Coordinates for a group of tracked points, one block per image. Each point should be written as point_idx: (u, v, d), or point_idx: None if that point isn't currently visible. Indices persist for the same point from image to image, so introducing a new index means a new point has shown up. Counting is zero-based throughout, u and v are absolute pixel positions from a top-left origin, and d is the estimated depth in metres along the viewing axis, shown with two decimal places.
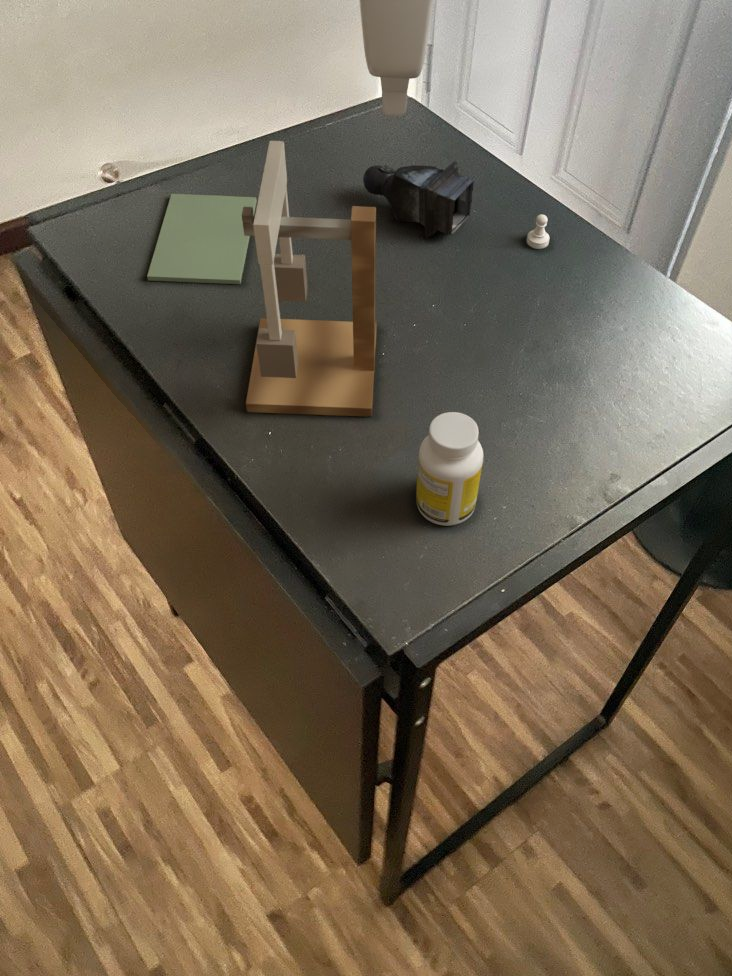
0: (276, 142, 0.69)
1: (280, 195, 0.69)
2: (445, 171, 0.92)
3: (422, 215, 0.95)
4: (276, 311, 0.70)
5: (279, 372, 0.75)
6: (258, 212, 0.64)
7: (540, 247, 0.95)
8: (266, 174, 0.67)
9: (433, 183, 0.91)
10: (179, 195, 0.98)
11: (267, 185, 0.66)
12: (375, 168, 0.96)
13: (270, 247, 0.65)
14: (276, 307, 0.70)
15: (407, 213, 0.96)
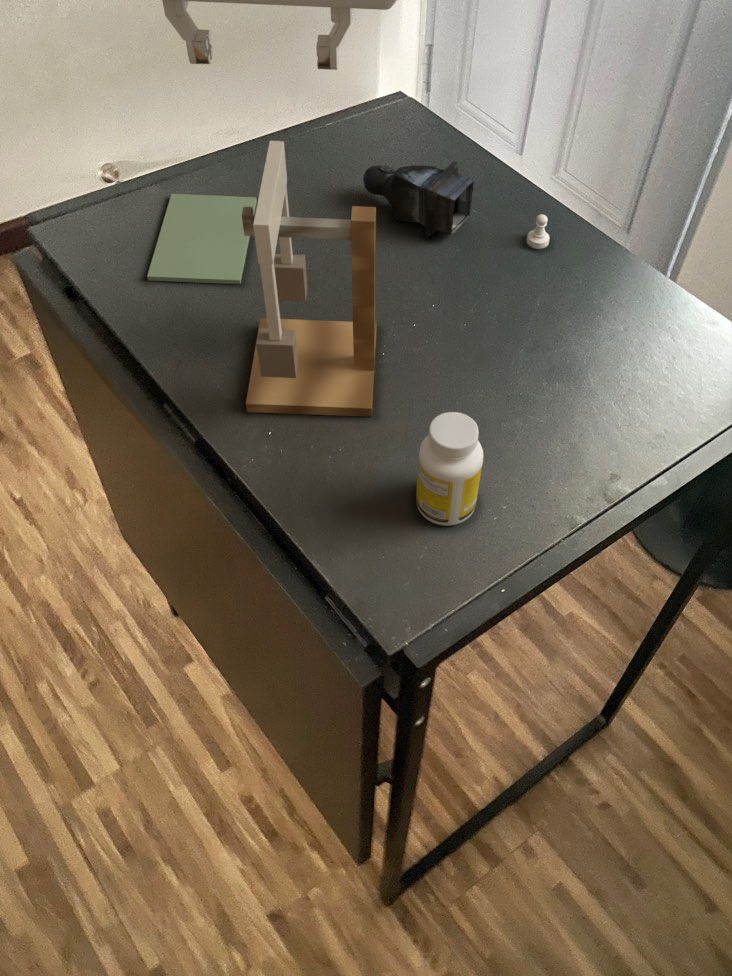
0: (276, 142, 0.69)
1: (280, 195, 0.69)
2: (445, 171, 0.92)
3: (422, 215, 0.95)
4: (276, 311, 0.70)
5: (279, 372, 0.75)
6: (258, 212, 0.64)
7: (540, 247, 0.95)
8: (266, 174, 0.67)
9: (433, 183, 0.91)
10: (179, 195, 0.98)
11: (267, 185, 0.66)
12: (375, 168, 0.96)
13: (270, 247, 0.65)
14: (276, 307, 0.70)
15: (407, 213, 0.96)
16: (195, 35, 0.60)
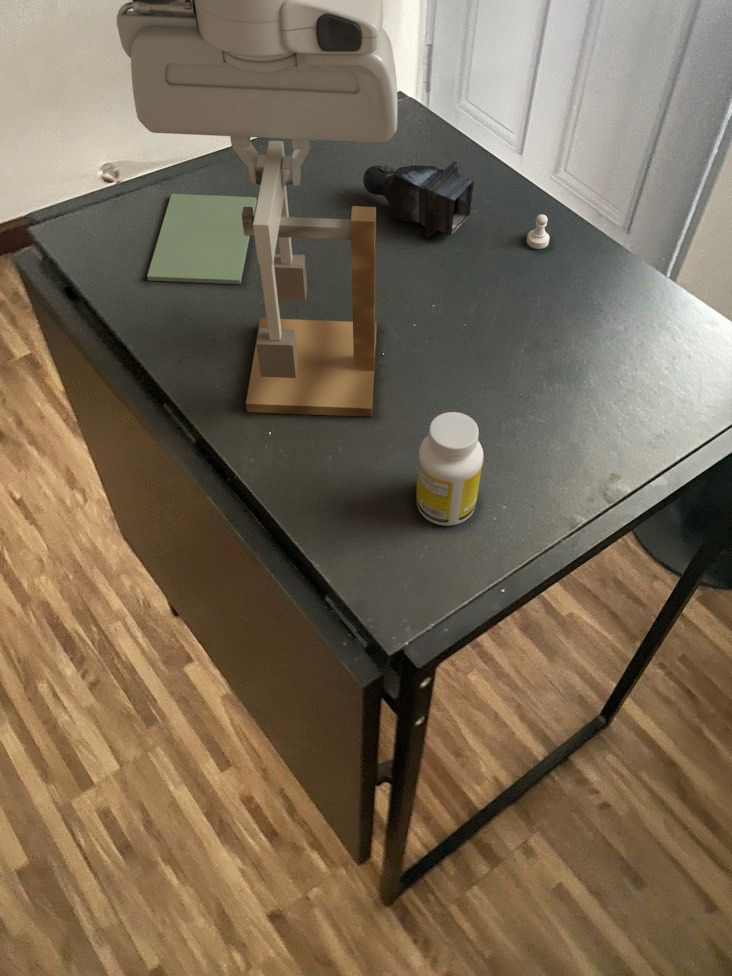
0: (276, 142, 0.69)
1: (280, 195, 0.69)
2: (445, 171, 0.92)
3: (422, 215, 0.95)
4: (276, 311, 0.70)
5: (279, 372, 0.75)
6: (258, 212, 0.64)
7: (540, 247, 0.95)
8: (266, 174, 0.67)
9: (433, 183, 0.91)
10: (179, 195, 0.98)
11: (266, 185, 0.66)
12: (375, 168, 0.96)
13: (270, 247, 0.65)
14: (276, 307, 0.70)
15: (407, 213, 0.96)
16: (256, 161, 0.69)
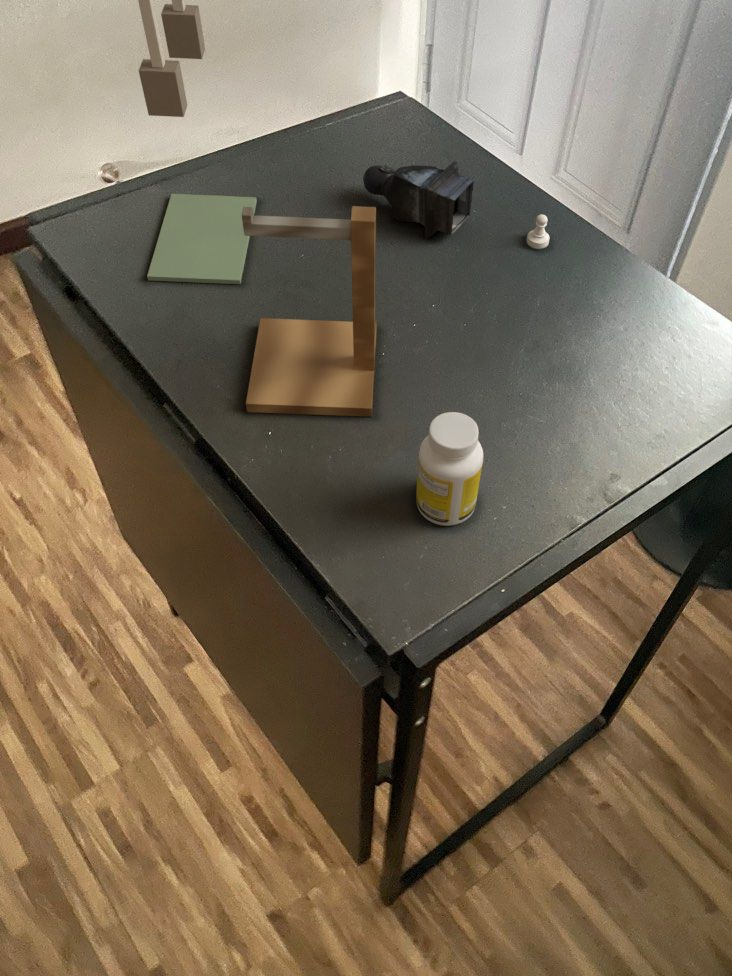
0: None
1: None
2: (445, 171, 0.92)
3: (422, 215, 0.95)
4: (154, 28, 0.70)
5: (166, 109, 0.75)
6: None
7: (540, 247, 0.95)
8: None
9: (433, 183, 0.91)
10: (179, 195, 0.98)
11: None
12: (375, 168, 0.96)
13: None
14: (154, 23, 0.69)
15: (407, 213, 0.96)
16: None
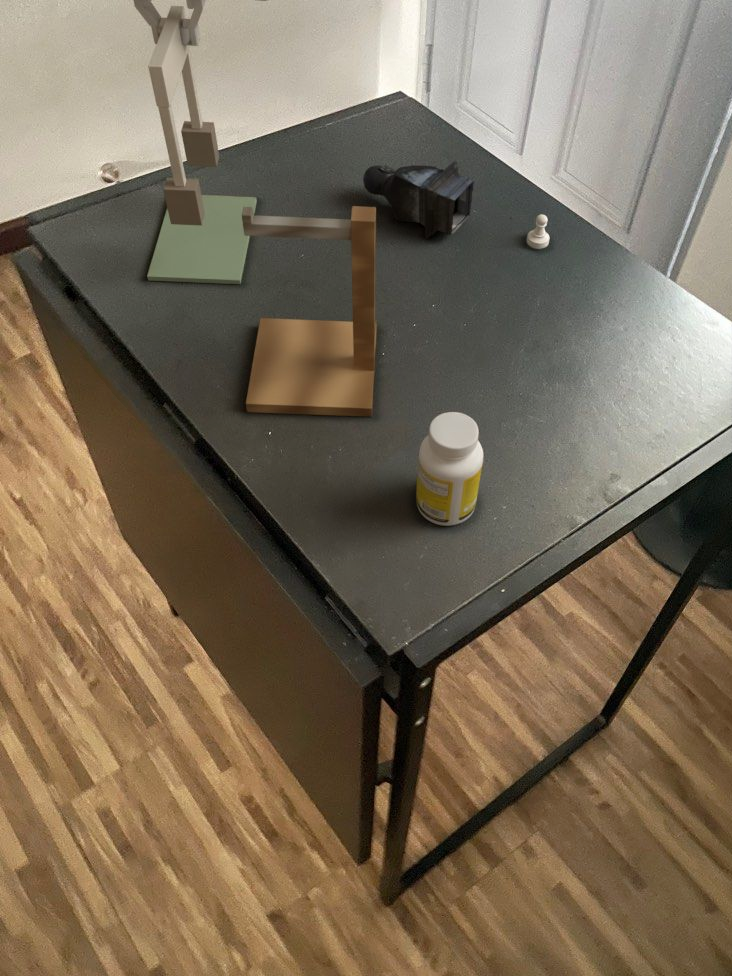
0: (177, 6, 0.79)
1: (179, 52, 0.79)
2: (445, 171, 0.92)
3: (422, 215, 0.95)
4: (177, 156, 0.80)
5: (186, 219, 0.85)
6: (154, 57, 0.74)
7: (540, 247, 0.95)
8: (164, 30, 0.77)
9: (433, 183, 0.91)
10: None
11: (164, 38, 0.76)
12: (375, 168, 0.96)
13: (165, 89, 0.75)
14: (177, 152, 0.80)
15: (407, 213, 0.96)
16: (159, 22, 0.78)
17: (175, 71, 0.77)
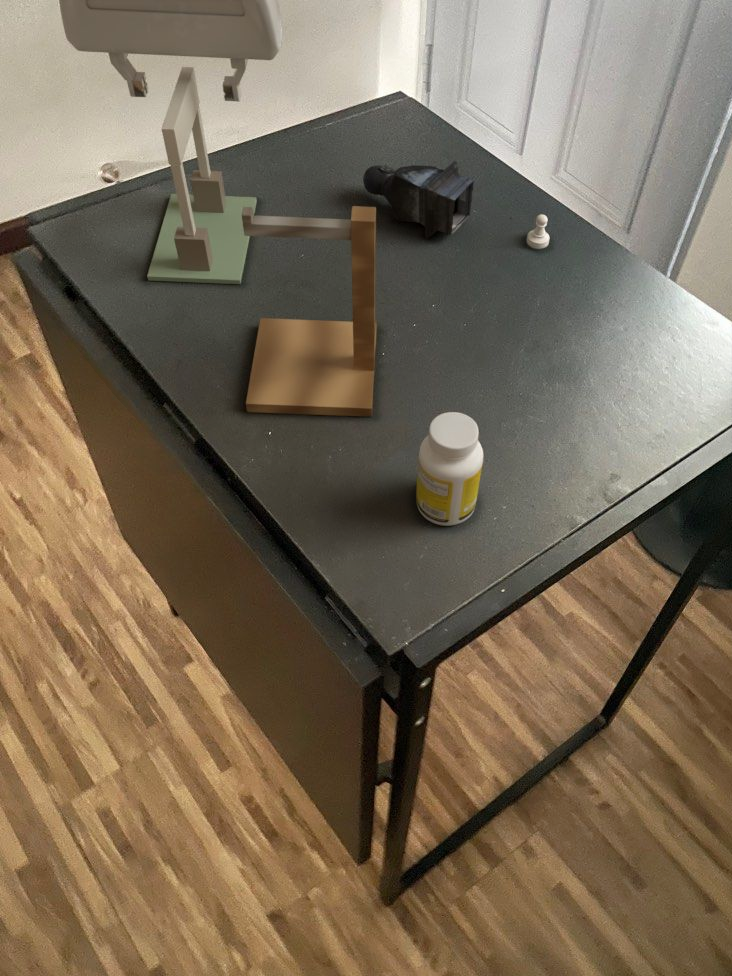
0: (187, 68, 0.84)
1: (190, 111, 0.83)
2: (445, 171, 0.92)
3: (422, 215, 0.95)
4: (188, 208, 0.85)
5: (195, 265, 0.90)
6: (166, 120, 0.79)
7: (540, 247, 0.95)
8: (176, 92, 0.81)
9: (433, 183, 0.91)
10: None
11: (176, 100, 0.81)
12: (375, 168, 0.96)
13: (177, 149, 0.79)
14: (187, 205, 0.84)
15: (407, 213, 0.96)
16: (134, 76, 0.83)
17: (186, 130, 0.82)
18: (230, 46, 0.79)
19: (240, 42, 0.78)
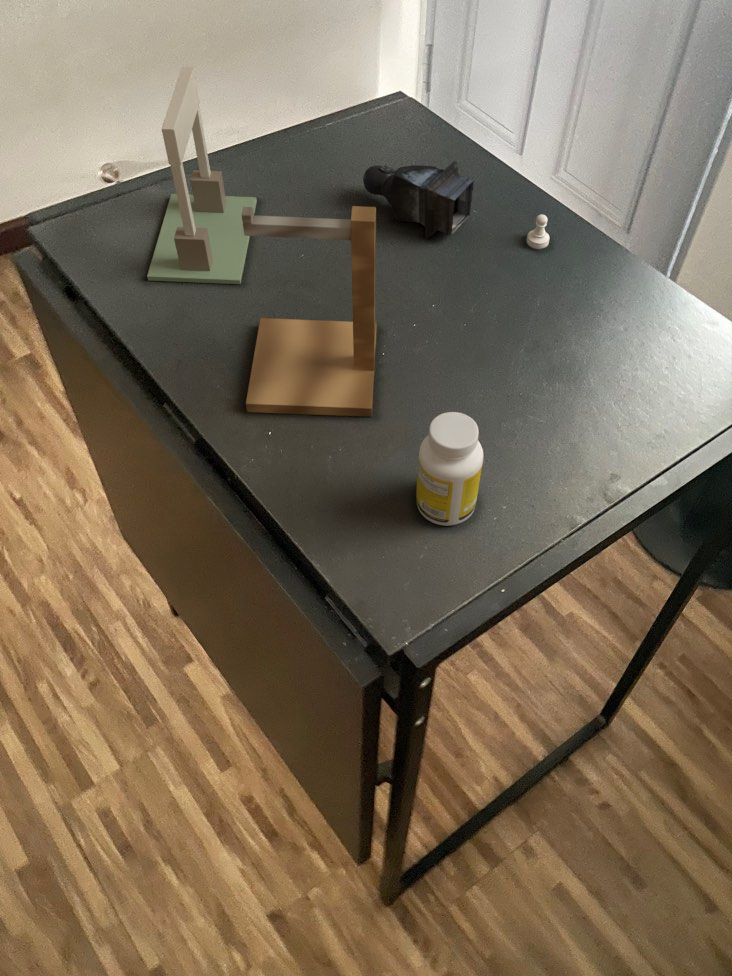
0: (187, 68, 0.84)
1: (190, 111, 0.83)
2: (445, 171, 0.92)
3: (422, 215, 0.95)
4: (188, 208, 0.85)
5: (195, 265, 0.90)
6: (166, 120, 0.79)
7: (540, 247, 0.95)
8: (176, 92, 0.81)
9: (433, 183, 0.91)
10: None
11: (176, 100, 0.81)
12: (375, 168, 0.96)
13: (177, 149, 0.79)
14: (187, 205, 0.84)
15: (407, 213, 0.96)
16: None
17: (186, 130, 0.82)
18: None
19: None
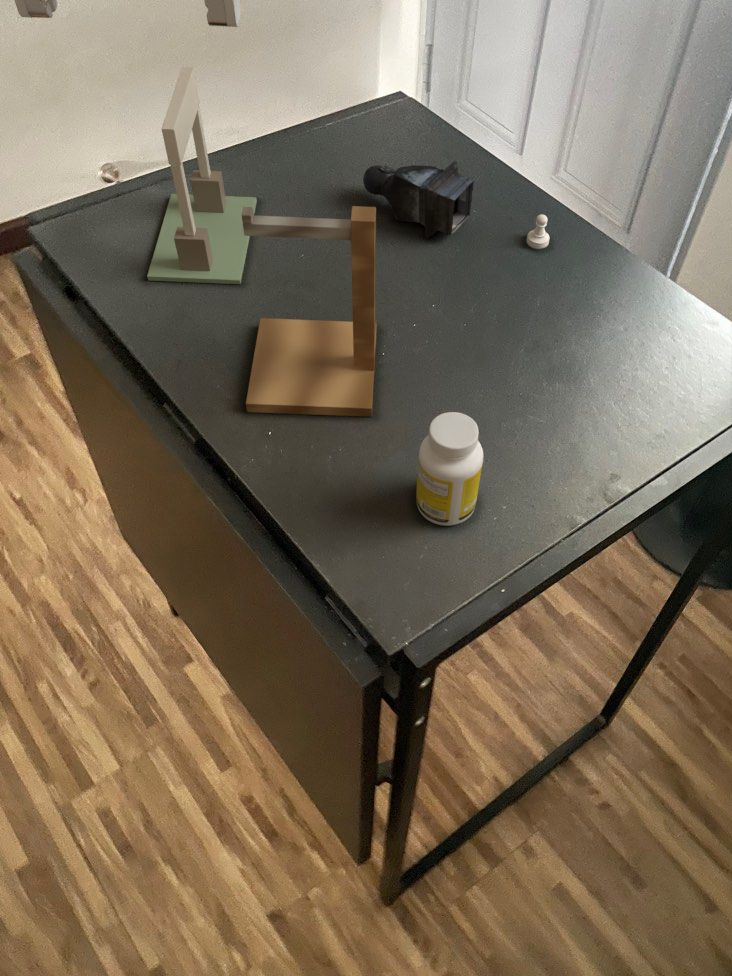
0: (187, 68, 0.84)
1: (190, 111, 0.83)
2: (445, 171, 0.92)
3: (422, 215, 0.95)
4: (188, 208, 0.85)
5: (195, 265, 0.90)
6: (166, 120, 0.79)
7: (540, 247, 0.95)
8: (176, 92, 0.81)
9: (433, 183, 0.91)
10: None
11: (176, 100, 0.81)
12: (375, 168, 0.96)
13: (177, 149, 0.79)
14: (187, 205, 0.84)
15: (407, 213, 0.96)
16: None
17: (186, 130, 0.82)
18: None
19: None
